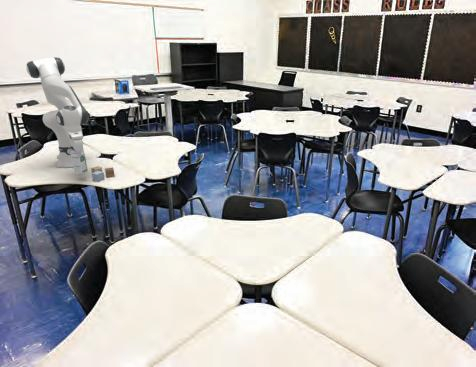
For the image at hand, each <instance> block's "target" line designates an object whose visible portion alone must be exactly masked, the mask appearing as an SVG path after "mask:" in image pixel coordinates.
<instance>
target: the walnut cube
mask: <svg viewBox="0 0 476 367" xmlns="http://www.w3.org/2000/svg"><path fill="white" fill-rule="evenodd" d="M114 170H115V169H114V167H105V168H104V171H105V172H104V173H105V177H106V179H109V178H115V177H116V176H115V171H114Z"/></svg>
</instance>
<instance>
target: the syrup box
mask: <svg viewBox="0 0 476 367" xmlns="http://www.w3.org/2000/svg"><path fill="white" fill-rule="evenodd" d="M70 153H71V158H72V163H73V167H72V169H73V173H74V174H75V175H76V174H78V175H84V173H87V172H88V166H87V159H86V154H85V149H83V151H82V152H81V157H80V158H79V157H78V155H77V151H76V150H73V151H71V152H70Z"/></svg>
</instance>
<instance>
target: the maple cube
mask: <svg viewBox="0 0 476 367" xmlns="http://www.w3.org/2000/svg"><path fill="white" fill-rule="evenodd" d="M90 171H91V173H94V172H96V171H101V172H104V171H103V167H102V166H100V165H97V166H96V165H95V166H92V167H90Z"/></svg>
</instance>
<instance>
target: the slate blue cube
mask: <svg viewBox="0 0 476 367" xmlns="http://www.w3.org/2000/svg"><path fill="white" fill-rule="evenodd" d="M104 173H105V172H104V171H103V172H101V171H96V172H94V173H92V172H91V178H92V182H98V183H99V182H102V181H104V180H105V174H104Z"/></svg>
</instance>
